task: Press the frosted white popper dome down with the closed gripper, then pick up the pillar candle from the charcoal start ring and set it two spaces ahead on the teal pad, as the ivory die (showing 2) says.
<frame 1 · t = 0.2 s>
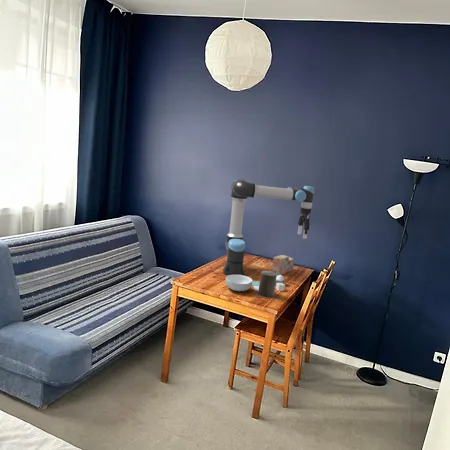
hand: (301, 236, 303), 28 cm above the table, fingers open, 13 cm apart
pad one: (261, 288, 264), on the table
start ring: (266, 294, 256), on the table
die: (279, 289, 267), on the table
pillar candle: (266, 294, 256), on the table
cereal bowl: (237, 289, 259), on the table
dome: (279, 278, 277), point 4 cm above the table, slide at 0.0 cm
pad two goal: (256, 283, 273), on the table
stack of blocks: (282, 272, 307), on the table
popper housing: (279, 284, 278), on the table
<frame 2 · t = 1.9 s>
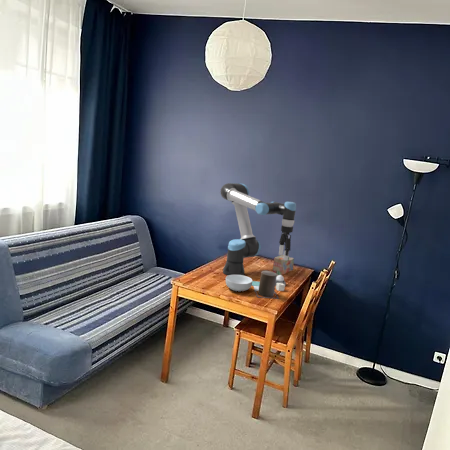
hand: (283, 257, 275), 19 cm above the table, fingers open, 12 cm apart
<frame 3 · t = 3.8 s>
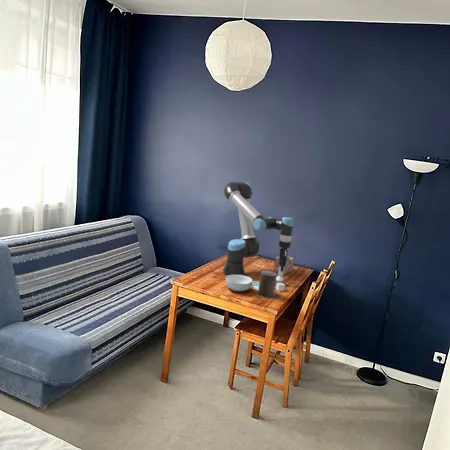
hand: (280, 275, 276), 6 cm above the table, fingers closed
dome: (279, 278, 277), point 4 cm above the table, slide at 0.4 cm, touching gripper
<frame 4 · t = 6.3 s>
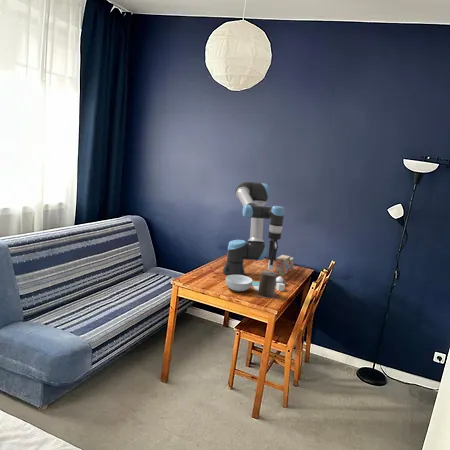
hand: (270, 269, 253), 16 cm above the table, fingers closed
dome: (279, 279, 277), point 3 cm above the table, slide at 1.1 cm
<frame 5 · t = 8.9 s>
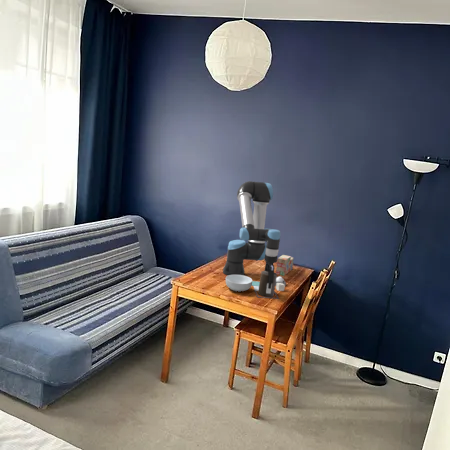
hand: (266, 290, 255), 3 cm above the table, fingers closed on pillar candle, 10 cm apart
pillar candle: (266, 294, 256), on the table, touching gripper
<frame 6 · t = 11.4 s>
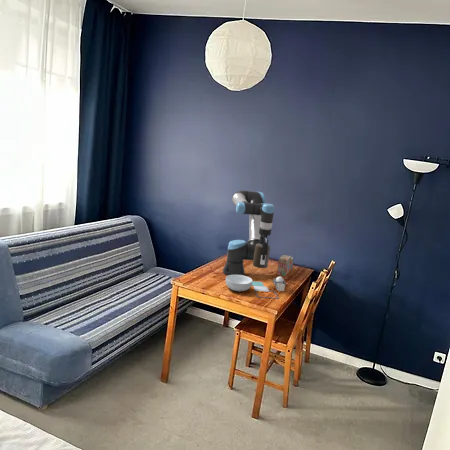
hand: (260, 261, 268), 16 cm above the table, fingers closed on pillar candle, 10 cm apart
pillar candle: (260, 266, 269), point 13 cm above the table, touching gripper
when the fingers open (4 cm above the table, at t = 14.1 s): pillar candle drops 1 cm, resting on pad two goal.
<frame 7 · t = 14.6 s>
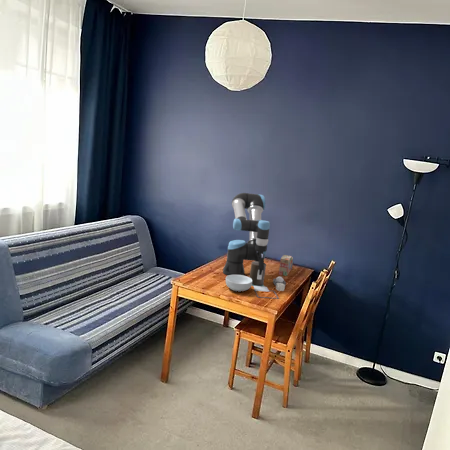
hand: (257, 275, 272), 6 cm above the table, fingers open, 13 cm apart
pillar candle: (256, 283, 273), resting on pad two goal
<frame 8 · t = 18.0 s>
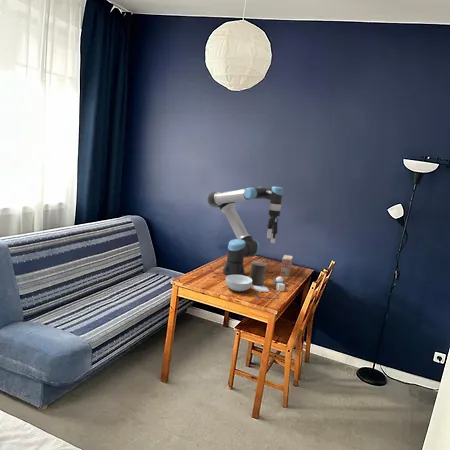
hand: (270, 240, 283), 27 cm above the table, fingers open, 13 cm apart
at the end: pillar candle inside the target area (0.4 cm from its centre), resting on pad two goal; pillar candle tilted 0°; dome slide at 1.1 cm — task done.
